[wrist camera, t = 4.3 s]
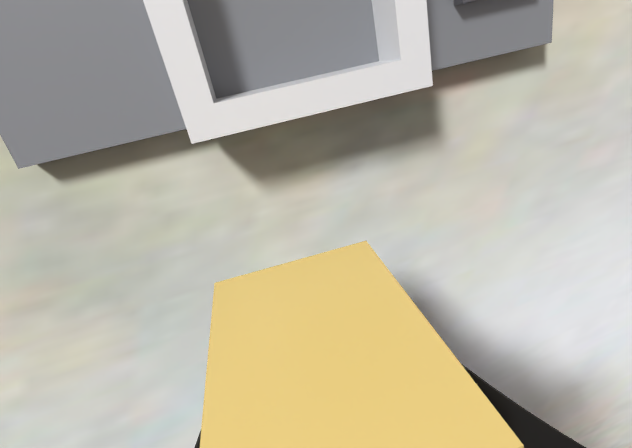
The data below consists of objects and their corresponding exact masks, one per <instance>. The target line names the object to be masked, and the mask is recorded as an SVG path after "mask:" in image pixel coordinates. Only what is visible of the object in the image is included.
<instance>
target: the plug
mask: <svg viewBox="0 0 632 448" xmlns="http://www.w3.org/2000/svg"><path fill="white" fill-rule="evenodd" d="M200 448H524V445H523V444H522V443H521V441H520V440H519V439H518V437H517V436H516V435H515V433H514V432H513V431H512V430H511V428H510V427H509V426H508V424H507V423H506V422H505V420H504V419H503V418H502V417H501V415H500V414H499V413H498V411H497V410H496V409H495V408H494V406H493V405H492V404H491V402H490V401H489V400H488V398H487V397H486V396H485V395H484V393H483V392H482V391H481V389H480V388H479V387H478V385H477V384H476V383H475V382H474V380H473V379H472V378H471V376H470V375H469V374H468V372H467V371H466V370H465V369H464V367H463V366H462V365H461V363H460V362H459V361H458V359H457V358H456V357H455V356H454V354H453V353H452V352H451V350H450V349H449V348H448V346H447V345H446V344H445V343H444V341H443V340H442V339H441V337H440V336H439V335H438V333H437V332H436V331H435V330H434V328H433V327H432V326H431V324H430V323H429V322H428V321H427V319H426V318H425V317H424V315H423V314H422V313H421V311H420V310H419V309H418V308H417V306H416V305H415V304H414V302H413V301H412V300H411V298H410V297H409V296H408V295H407V293H406V292H405V291H404V289H403V288H402V287H401V285H400V284H399V283H398V282H397V280H396V279H395V278H394V276H393V275H392V274H391V272H390V271H389V270H388V269H387V267H386V266H385V265H384V263H383V262H382V261H381V259H380V258H379V257H378V256H377V254H376V253H375V252H374V250H373V249H372V248H371V247H370V245H369V244H368V243H367V241H363V242H360V243H356V244H352V245H349V246H345V247H342V248H338V249H335V250H331V251H327V252H324V253H320V254H317V255H313V256H309V257H306V258H302V259H299V260H295V261H292V262H288V263H284V264H281V265H277V266H274V267H270V268H266V269H263V270H259V271H256V272H252V273H249V274H245V275H241V276H238V277H234V278H231V279H227V280H223V281H220V282H216V283H215V284H214V295H213V306H212V317H211V328H210V339H209V350H208V361H207V372H206V383H205V394H204V406H203V417H202V428H201V439H200Z"/></svg>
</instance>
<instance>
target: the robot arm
mask: <svg viewBox="0 0 632 448" xmlns="http://www.w3.org/2000/svg"><path fill="white" fill-rule="evenodd" d="M461 365H462V364H461ZM462 366H463V367H464V369H465V370H466V371H467V372H468V374H469V375H470V376H471V378H472V379H473V380H474V382H475V383H476V384H477V385H478V387H479V388H480V389H481V391H482V392H483V393H484V395H485V396H486V397H487V398H488V400H489V401H490V402H491V404H492V405H493V406H494V408H495V409H496V410H497V411H498V413H499V414H500V415H501V417H502V418H503V419H504V420H505V422H506V423H507V424H508V426H509V427H510V428H511V430H512V431H513V432H514V433H515V435H516V436H517V437H518V439H519V440H520V441H521V443H522V444H523V445H524V448H586V447H584V446H582V445H581V444H579V443H577V442H576V441H574V440H573V439H571V438H569V437H568V436H566V435H564V434H563V433H561V432H559V431H558V430H556V429H555V428H553V427H552V426H550V425H548V424H547V423H545V422H544V421H542V420H541V419H539V418H537V417H536V416H534V415H533V414H531V413H530V412H528V411H527V410H525V409H524V408H522V407H521V406H519V405H518V404H516V403H515V402H514V401H512V400H511V399H509V398H508V397H506V396H505V395H504V394H502V393H501V392H499V391H498V390H496V389H495V388H494V387H492V386H491V385H489V384H488V383H487V382H485V381H484V380H482V379H481V378H480V377H478V376H477V375H476V374H474V373H473V372H472V371H470V370H469V369H468V368H466V367H465V366H464V365H462ZM200 439H201V431H200V434H199V437H198V439H197V442H196V445H195V448H200Z"/></svg>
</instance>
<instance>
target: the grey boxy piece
mask: <svg viewBox="0 0 632 448" xmlns="http://www.w3.org/2000/svg"><path fill="white" fill-rule="evenodd" d="M552 20H553V0H0V135H1V137H2V139H3V141H4V143H5V144H6V146H7V148H8V150H9V152H10V154H11V156H12V158H13V159H14V161H15V163H16V165H17V167H18V169H19V168H23V167H28V166H32V165H36V164H40V163H45V162H49V161H53V160H57V159H61V158H66V157H70V156H74V155H78V154H83V153H87V152H91V151H95V150H99V149H104V148H108V147H112V146H116V145H121V144H125V143H129V142H133V141H137V140H142V139H146V138H150V137H154V136H159V135H163V134H167V133H171V132H176V131H180V130H184V129H187V132H188V135H189V138H190V141H191V144H193V143H197V142H202V141H206V140H210V139H214V138H218V137H222V136H226V135H231V134H235V133H239V132H243V131H247V130H251V129H255V128H260V127H264V126H268V125H272V124H276V123H280V122H285V121H289V120H293V119H297V118H301V117H305V116H309V115H314V114H318V113H322V112H326V111H330V110H334V109H338V108H343V107H347V106H351V105H355V104H359V103H363V102H368V101H372V100H376V99H380V98H384V97H388V96H392V95H397V94H401V93H405V92H409V91H413V90H417V89H421V88H426V87H430V86H433V81H432V71H433V70H437V69H442V68H446V67H450V66H454V65H459V64H463V63H467V62H471V61H475V60H480V59H484V58H488V57H492V56H497V55H501V54H505V53H509V52H513V51H518V50H522V49H526V48H530V47H535V46H539V45H543V44H547V43H552Z"/></svg>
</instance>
